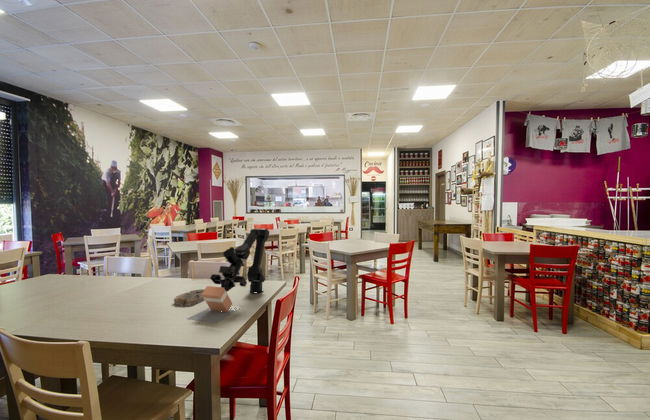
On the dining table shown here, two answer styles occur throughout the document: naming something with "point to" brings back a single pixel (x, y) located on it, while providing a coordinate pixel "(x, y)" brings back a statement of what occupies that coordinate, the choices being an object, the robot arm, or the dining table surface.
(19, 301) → the dining table surface
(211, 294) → the tall box
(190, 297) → the weathered wood piece
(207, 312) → the mat
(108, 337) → the dining table surface
